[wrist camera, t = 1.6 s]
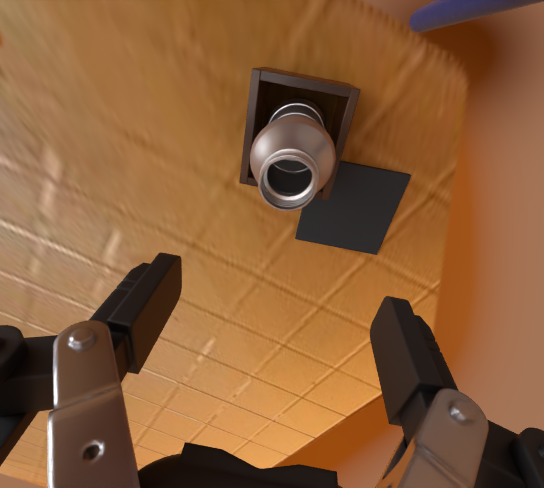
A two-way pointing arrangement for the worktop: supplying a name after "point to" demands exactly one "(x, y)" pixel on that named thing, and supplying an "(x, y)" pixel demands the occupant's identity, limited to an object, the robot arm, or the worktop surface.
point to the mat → (354, 208)
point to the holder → (266, 75)
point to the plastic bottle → (292, 155)
